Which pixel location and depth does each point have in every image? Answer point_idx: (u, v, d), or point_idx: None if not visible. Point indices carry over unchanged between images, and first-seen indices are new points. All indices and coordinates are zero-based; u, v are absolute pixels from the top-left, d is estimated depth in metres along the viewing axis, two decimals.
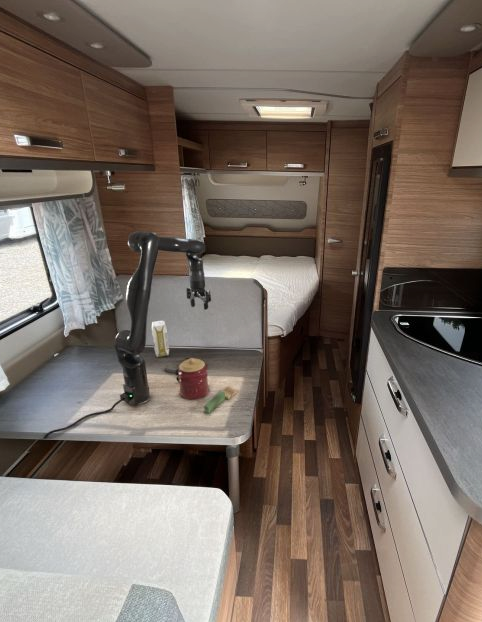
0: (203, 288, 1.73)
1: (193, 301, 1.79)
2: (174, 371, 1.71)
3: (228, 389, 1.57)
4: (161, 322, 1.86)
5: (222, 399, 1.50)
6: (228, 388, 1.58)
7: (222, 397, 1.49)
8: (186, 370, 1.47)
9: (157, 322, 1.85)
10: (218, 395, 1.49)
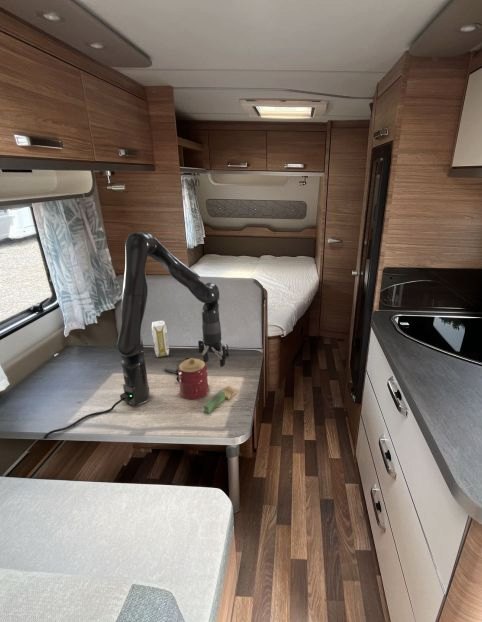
0: (219, 342, 1.42)
1: (206, 355, 1.48)
2: (174, 371, 1.71)
3: (228, 389, 1.57)
4: (161, 322, 1.86)
5: (222, 399, 1.50)
6: (228, 388, 1.58)
7: (222, 397, 1.49)
8: (186, 370, 1.47)
9: (157, 322, 1.85)
10: (218, 395, 1.49)
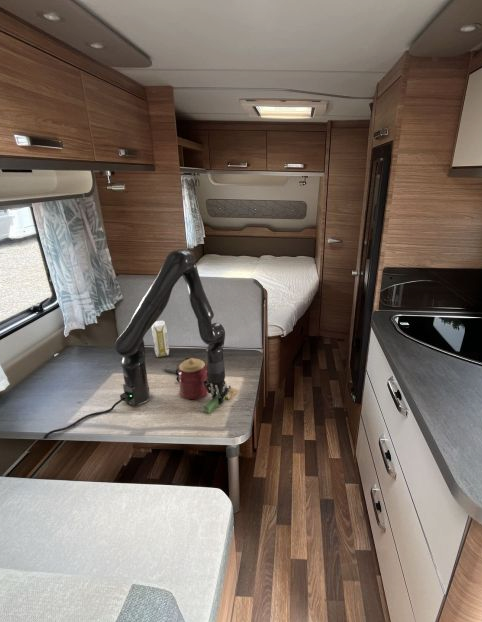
0: (223, 380, 1.43)
1: None
2: (174, 371, 1.71)
3: None
4: (161, 322, 1.86)
5: None
6: None
7: None
8: (186, 370, 1.47)
9: (157, 322, 1.85)
10: None
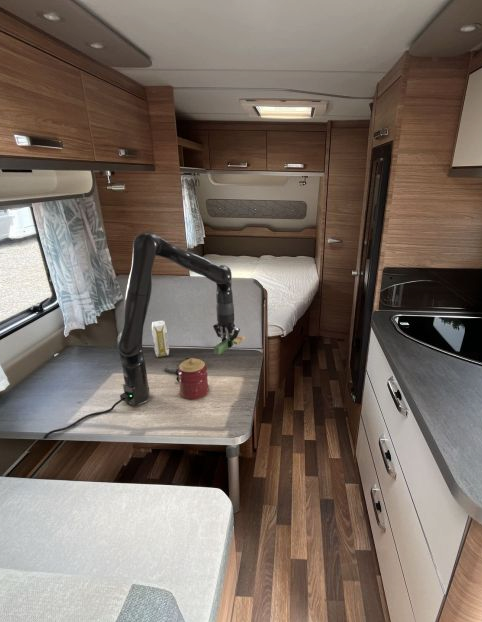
0: (232, 322, 1.47)
1: None
2: (174, 371, 1.71)
3: (237, 336, 1.61)
4: (161, 322, 1.86)
5: None
6: (237, 335, 1.62)
7: None
8: (186, 370, 1.47)
9: (157, 322, 1.85)
10: (227, 339, 1.53)
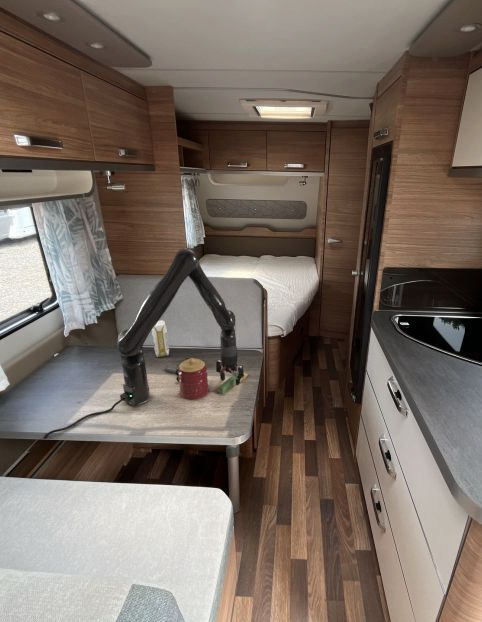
0: (235, 363, 1.56)
1: (223, 375, 1.62)
2: (174, 371, 1.71)
3: None
4: (161, 322, 1.86)
5: (234, 382, 1.63)
6: None
7: (234, 380, 1.63)
8: (186, 370, 1.47)
9: (157, 322, 1.85)
10: (230, 378, 1.62)
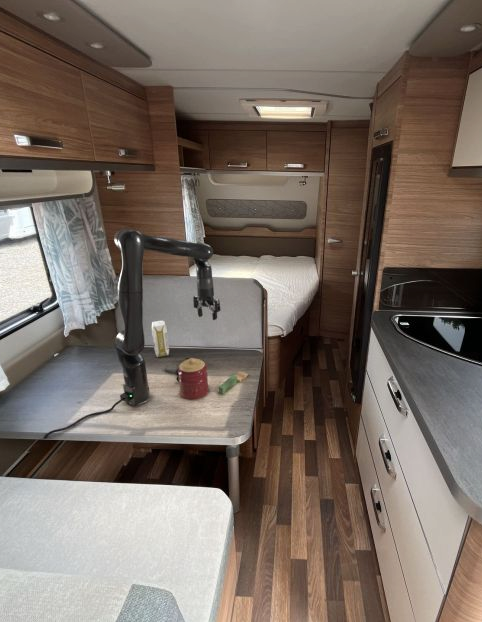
0: (212, 297, 1.58)
1: (200, 310, 1.64)
2: (174, 371, 1.71)
3: (239, 373, 1.70)
4: (161, 322, 1.86)
5: (234, 382, 1.63)
6: (239, 372, 1.71)
7: (234, 380, 1.63)
8: (186, 370, 1.47)
9: (157, 322, 1.85)
10: (230, 378, 1.62)
